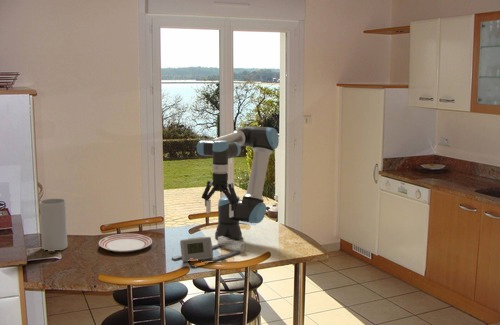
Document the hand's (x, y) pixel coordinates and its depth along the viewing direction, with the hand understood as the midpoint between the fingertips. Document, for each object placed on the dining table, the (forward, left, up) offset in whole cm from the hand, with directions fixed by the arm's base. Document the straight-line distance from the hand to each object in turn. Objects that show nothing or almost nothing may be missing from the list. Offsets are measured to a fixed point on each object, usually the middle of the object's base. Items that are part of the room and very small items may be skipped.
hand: (219, 215), depth 274 cm
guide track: (-7, -1, -22) cm, 23 cm away
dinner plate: (-48, -23, -23) cm, 58 cm away
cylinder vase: (-71, -51, -23) cm, 90 cm away
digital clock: (-7, -9, -23) cm, 25 cm away
